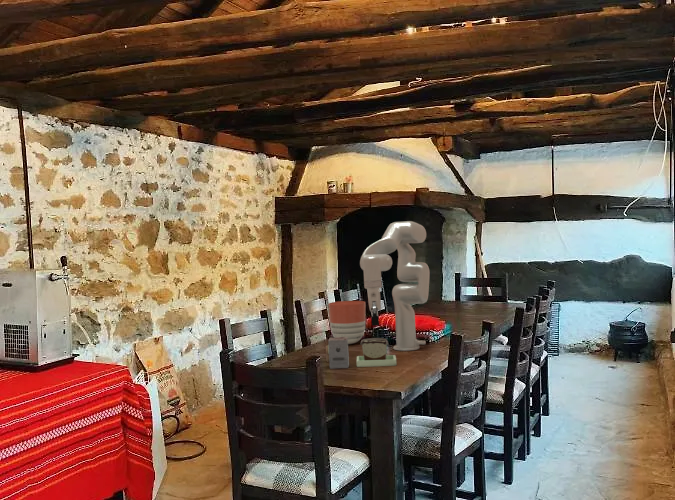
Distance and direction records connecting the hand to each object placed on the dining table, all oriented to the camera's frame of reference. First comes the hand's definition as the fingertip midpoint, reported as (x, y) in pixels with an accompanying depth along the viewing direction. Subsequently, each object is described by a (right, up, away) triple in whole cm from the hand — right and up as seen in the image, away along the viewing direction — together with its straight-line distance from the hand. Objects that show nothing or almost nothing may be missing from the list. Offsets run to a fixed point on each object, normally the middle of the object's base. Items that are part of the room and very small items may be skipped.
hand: (375, 323), depth 266 cm
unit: (-16, -18, -2) cm, 24 cm away
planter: (-11, -17, +54) cm, 58 cm away
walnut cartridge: (-19, -18, +10) cm, 28 cm away
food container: (+1, -17, 0) cm, 17 cm away
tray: (0, -18, 0) cm, 18 cm away
